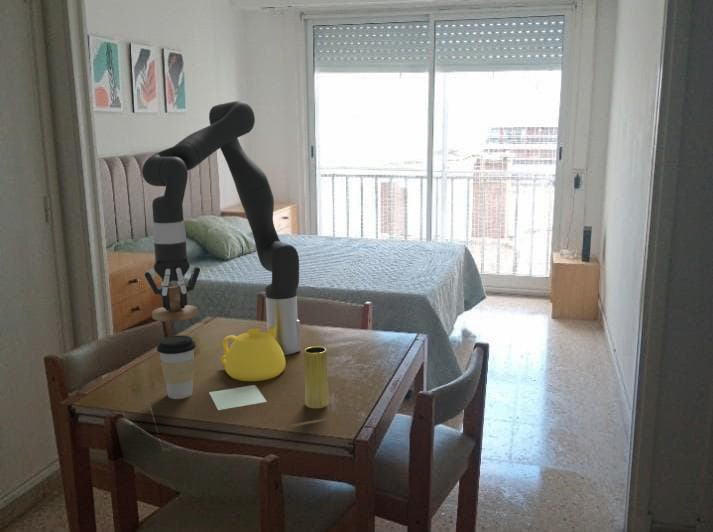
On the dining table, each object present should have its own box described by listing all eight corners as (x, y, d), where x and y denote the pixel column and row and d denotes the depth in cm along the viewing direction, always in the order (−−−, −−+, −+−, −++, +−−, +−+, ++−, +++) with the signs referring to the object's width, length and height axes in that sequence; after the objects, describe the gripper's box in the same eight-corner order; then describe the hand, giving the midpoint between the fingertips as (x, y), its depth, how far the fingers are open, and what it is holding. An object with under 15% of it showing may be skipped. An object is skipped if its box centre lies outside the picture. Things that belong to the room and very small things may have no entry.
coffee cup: (189, 404, 169) (185, 347, 166) (154, 402, 171) (149, 345, 167) (205, 390, 178) (201, 335, 175) (171, 388, 180) (167, 333, 176)
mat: (255, 387, 179) (255, 384, 179) (267, 403, 168) (266, 401, 168) (209, 394, 175) (209, 392, 175) (218, 412, 164) (218, 410, 164)
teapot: (269, 387, 179) (266, 341, 176) (206, 380, 185) (203, 334, 182) (300, 362, 197) (299, 320, 194) (243, 356, 203) (240, 315, 201)
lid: (194, 307, 176) (192, 280, 175) (201, 318, 166) (200, 290, 165) (149, 312, 172) (147, 285, 171) (155, 323, 162) (153, 295, 161)
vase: (304, 401, 170) (302, 346, 167) (329, 399, 170) (327, 345, 167) (304, 411, 164) (302, 354, 161) (330, 409, 164) (328, 353, 161)
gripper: (196, 235, 172) (200, 302, 175) (138, 239, 166) (143, 308, 170) (202, 239, 165) (206, 309, 168) (141, 244, 159) (147, 315, 163)
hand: (174, 308), depth 169 cm, fingers closed on lid, 3 cm apart
